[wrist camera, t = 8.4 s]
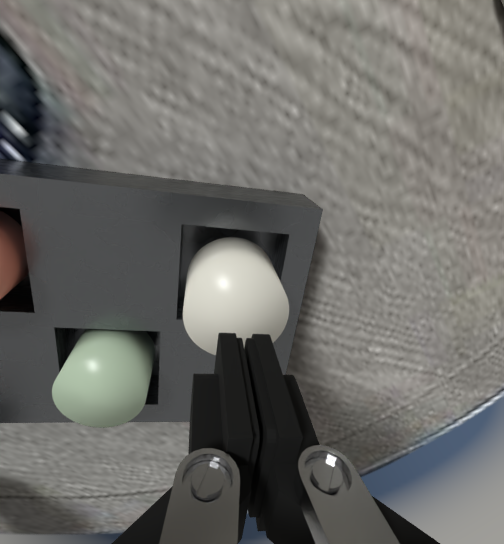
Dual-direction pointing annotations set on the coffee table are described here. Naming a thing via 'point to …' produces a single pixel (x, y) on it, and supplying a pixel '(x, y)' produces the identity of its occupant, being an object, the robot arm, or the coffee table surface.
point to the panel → (129, 273)
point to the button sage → (105, 377)
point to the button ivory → (232, 293)
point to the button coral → (11, 254)
